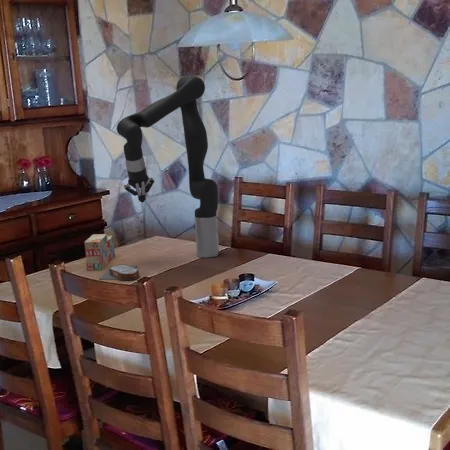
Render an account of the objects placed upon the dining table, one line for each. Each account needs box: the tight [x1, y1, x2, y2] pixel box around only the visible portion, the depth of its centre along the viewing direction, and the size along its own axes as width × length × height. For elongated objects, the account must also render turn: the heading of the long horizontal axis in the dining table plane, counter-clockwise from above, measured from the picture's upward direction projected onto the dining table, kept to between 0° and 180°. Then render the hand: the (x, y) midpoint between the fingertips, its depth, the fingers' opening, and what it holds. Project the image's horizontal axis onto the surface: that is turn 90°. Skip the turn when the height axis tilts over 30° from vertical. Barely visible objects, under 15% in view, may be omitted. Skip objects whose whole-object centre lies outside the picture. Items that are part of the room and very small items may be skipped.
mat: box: [98, 265, 138, 281], centre depth 252 cm, size 11×17×1 cm, turn 174°
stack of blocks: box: [84, 233, 116, 271], centre depth 266 cm, size 21×6×12 cm, turn 175°
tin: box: [108, 264, 140, 281], centre depth 247 cm, size 15×3×8 cm
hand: (142, 201), depth 264 cm, fingers closed
